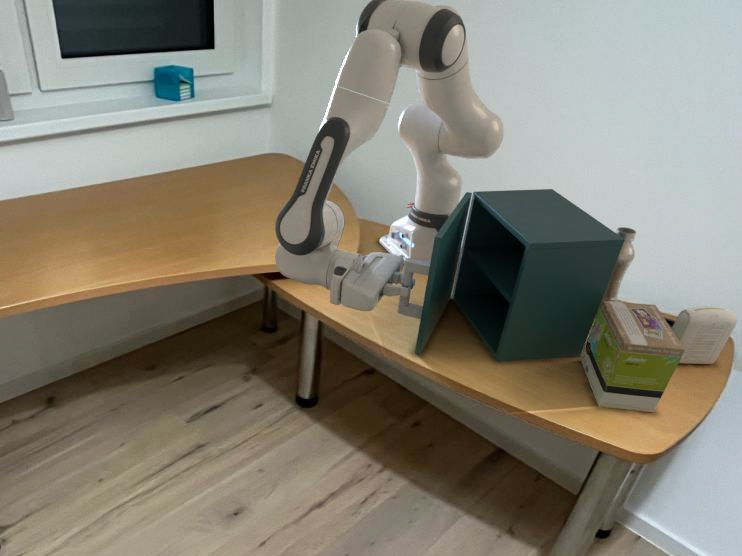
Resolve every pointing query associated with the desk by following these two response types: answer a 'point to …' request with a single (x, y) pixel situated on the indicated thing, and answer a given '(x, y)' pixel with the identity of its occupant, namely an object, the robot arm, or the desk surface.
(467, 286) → the box
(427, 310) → the fridge door
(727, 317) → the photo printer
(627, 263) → the beige vase
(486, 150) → the robot arm
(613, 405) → the tea box
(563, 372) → the desk surface
